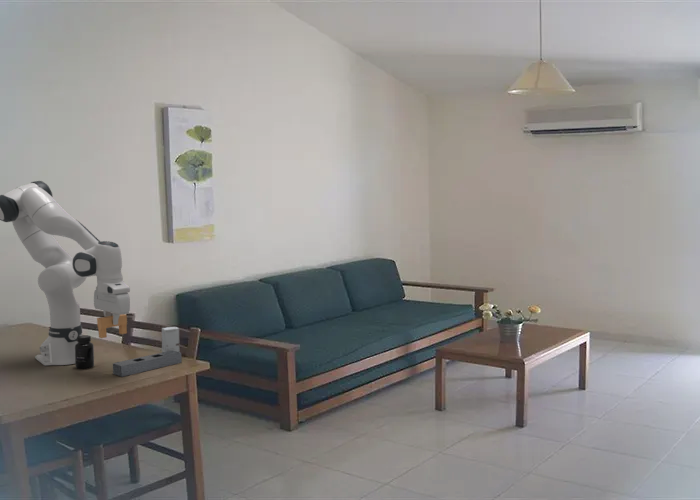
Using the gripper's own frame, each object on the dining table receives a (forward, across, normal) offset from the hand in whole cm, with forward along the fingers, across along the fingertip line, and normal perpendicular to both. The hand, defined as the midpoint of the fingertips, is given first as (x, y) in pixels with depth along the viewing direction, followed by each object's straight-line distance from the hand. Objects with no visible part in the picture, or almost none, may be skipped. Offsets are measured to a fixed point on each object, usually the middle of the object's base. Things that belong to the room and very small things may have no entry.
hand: (112, 323), depth 261 cm
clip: (+4, 0, 0) cm, 4 cm away
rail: (+19, 0, +14) cm, 24 cm away
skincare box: (+20, -7, +28) cm, 35 cm away
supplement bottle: (+19, -19, -2) cm, 27 cm away
